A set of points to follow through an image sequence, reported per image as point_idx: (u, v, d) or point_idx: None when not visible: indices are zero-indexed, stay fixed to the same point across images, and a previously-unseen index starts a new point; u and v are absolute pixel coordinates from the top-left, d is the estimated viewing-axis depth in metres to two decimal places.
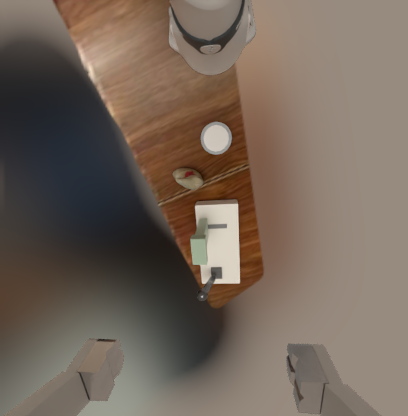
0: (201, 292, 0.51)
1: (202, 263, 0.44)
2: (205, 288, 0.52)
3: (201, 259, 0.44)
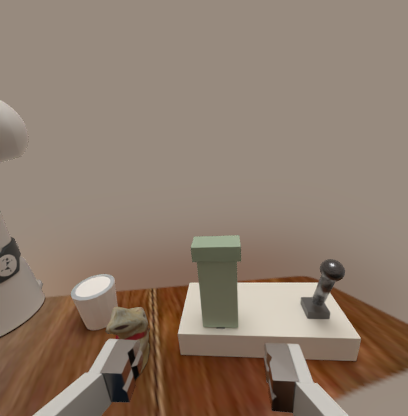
0: (322, 267, 0.26)
1: (237, 238, 0.27)
2: (321, 275, 0.27)
3: (229, 239, 0.27)
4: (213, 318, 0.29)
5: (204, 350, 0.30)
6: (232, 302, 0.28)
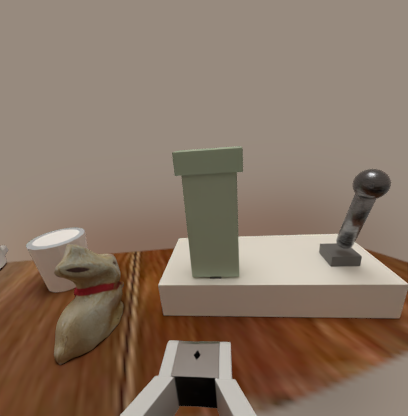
0: (358, 179, 0.18)
1: None
2: (354, 196, 0.19)
3: (226, 147, 0.19)
4: (205, 264, 0.22)
5: (194, 308, 0.23)
6: (230, 239, 0.21)
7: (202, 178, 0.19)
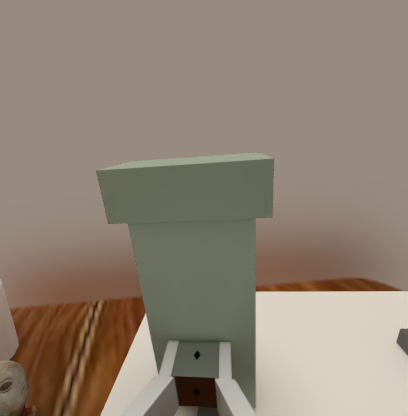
0: None
1: (254, 154, 0.09)
2: None
3: (231, 156, 0.09)
4: None
5: None
6: (239, 347, 0.10)
7: (175, 228, 0.08)
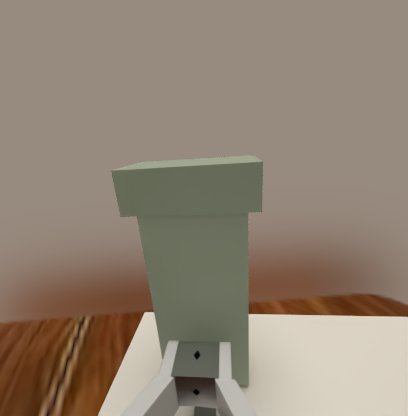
0: None
1: (248, 157, 0.10)
2: None
3: (227, 159, 0.10)
4: None
5: None
6: (234, 328, 0.11)
7: (178, 221, 0.10)
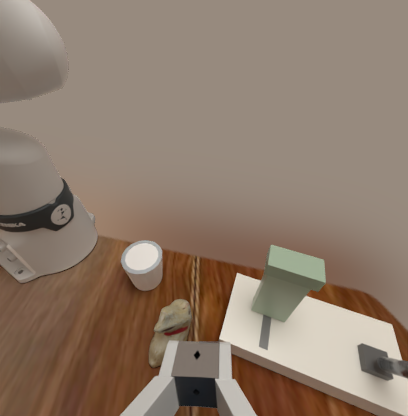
0: None
1: (321, 265, 0.24)
2: None
3: (312, 264, 0.24)
4: (263, 309, 0.31)
5: (240, 355, 0.31)
6: (288, 308, 0.28)
7: None
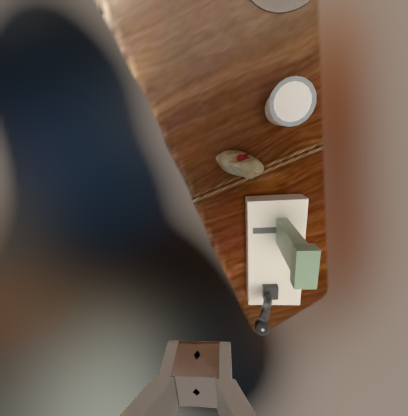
0: (262, 324, 0.36)
1: (309, 287, 0.29)
2: (264, 317, 0.38)
3: (309, 281, 0.29)
4: (278, 229, 0.39)
5: None
6: (281, 250, 0.37)
7: None
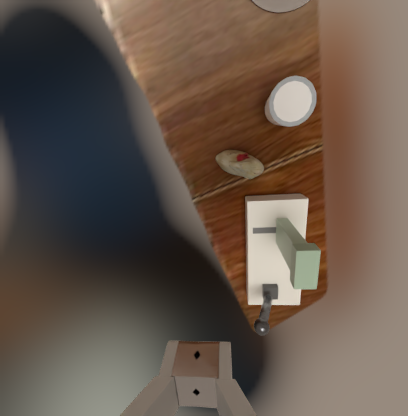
0: (261, 323, 0.36)
1: (309, 287, 0.29)
2: (264, 317, 0.38)
3: (308, 281, 0.29)
4: (278, 229, 0.39)
5: None
6: (281, 249, 0.37)
7: None
